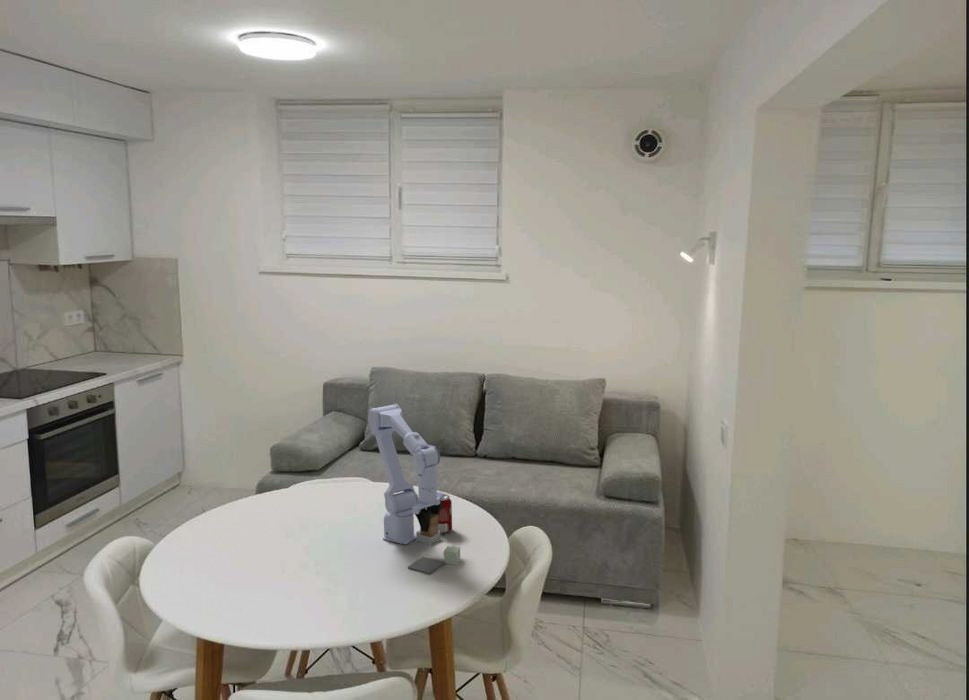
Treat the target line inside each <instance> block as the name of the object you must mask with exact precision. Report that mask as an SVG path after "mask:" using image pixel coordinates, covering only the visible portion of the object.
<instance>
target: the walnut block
mask: <svg viewBox="0 0 969 700" xmlns="http://www.w3.org/2000/svg"><path fill="white" fill-rule="evenodd" d="M419 527H420V526H419ZM419 529H420V534H421V535H423V536H427V537H433V536H434V535H436V534H437V533H438V514H434V513H431V515H430V519H429V529H428V531H427V532H425V531H421V527H420V528H419Z"/></svg>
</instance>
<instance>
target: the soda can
mask: <svg viewBox="0 0 969 700" xmlns="http://www.w3.org/2000/svg"><path fill="white" fill-rule="evenodd" d="M450 498H451V496H450V495H449V494H447V493H443V499H442V500H439V501H440V502H441V503H443V506H442V508H441V510H440V512H439V516H438V531H440V535H444V534H448V533H450V532H451V531H452V530H453V513H452V509H453V507H452V504H453V502H452V499H450Z"/></svg>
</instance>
